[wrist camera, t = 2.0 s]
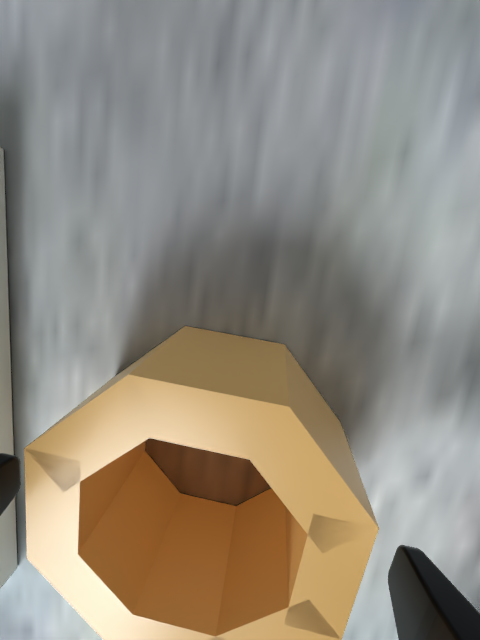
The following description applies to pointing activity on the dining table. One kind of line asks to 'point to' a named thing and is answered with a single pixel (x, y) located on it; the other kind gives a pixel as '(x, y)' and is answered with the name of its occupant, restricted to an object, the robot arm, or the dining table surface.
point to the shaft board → (5, 397)
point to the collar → (201, 501)
